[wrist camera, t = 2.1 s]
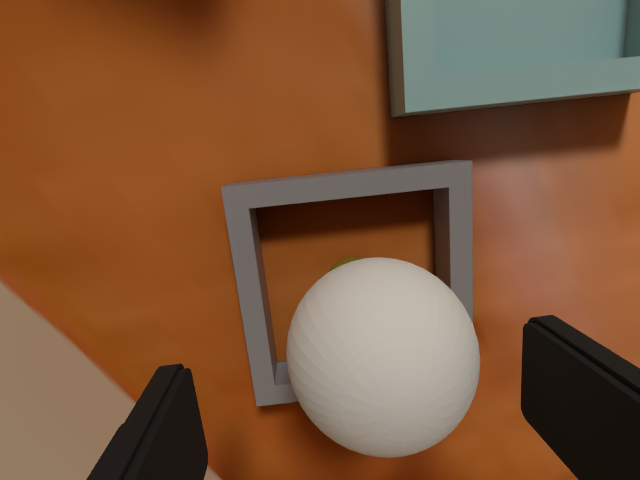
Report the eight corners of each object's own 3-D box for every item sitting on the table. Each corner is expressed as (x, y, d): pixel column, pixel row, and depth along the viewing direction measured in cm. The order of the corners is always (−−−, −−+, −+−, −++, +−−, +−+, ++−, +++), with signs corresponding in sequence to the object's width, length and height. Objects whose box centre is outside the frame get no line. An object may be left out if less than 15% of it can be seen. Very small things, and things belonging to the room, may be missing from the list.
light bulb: (335, 351, 20) (367, 547, 10) (268, 263, 18) (230, 391, 9) (431, 290, 19) (564, 435, 9) (368, 195, 18) (448, 250, 8)
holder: (453, 159, 18) (472, 160, 16) (456, 358, 20) (472, 380, 18) (230, 182, 17) (220, 187, 15) (260, 381, 20) (256, 406, 18)
